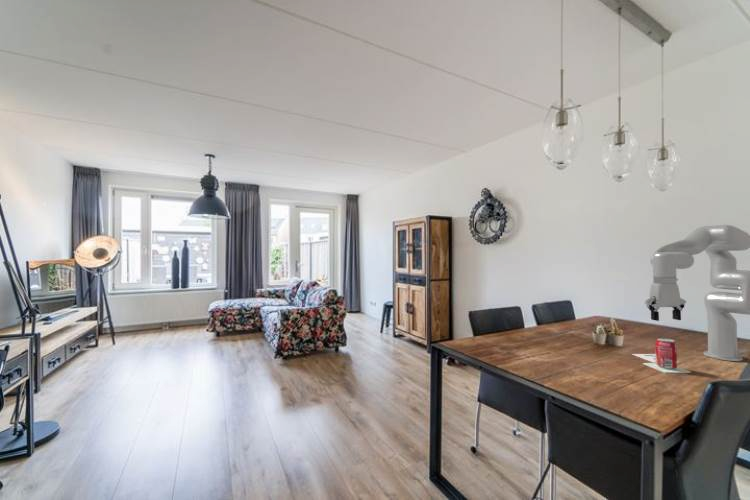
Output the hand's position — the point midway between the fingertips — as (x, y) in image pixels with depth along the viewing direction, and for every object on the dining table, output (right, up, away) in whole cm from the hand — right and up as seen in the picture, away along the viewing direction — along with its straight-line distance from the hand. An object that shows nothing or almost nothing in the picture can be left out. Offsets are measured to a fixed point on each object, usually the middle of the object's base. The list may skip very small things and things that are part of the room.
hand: (665, 319), depth 138 cm
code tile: (+6, -21, +13) cm, 26 cm away
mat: (0, -21, 0) cm, 21 cm away
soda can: (0, -21, 0) cm, 21 cm away
